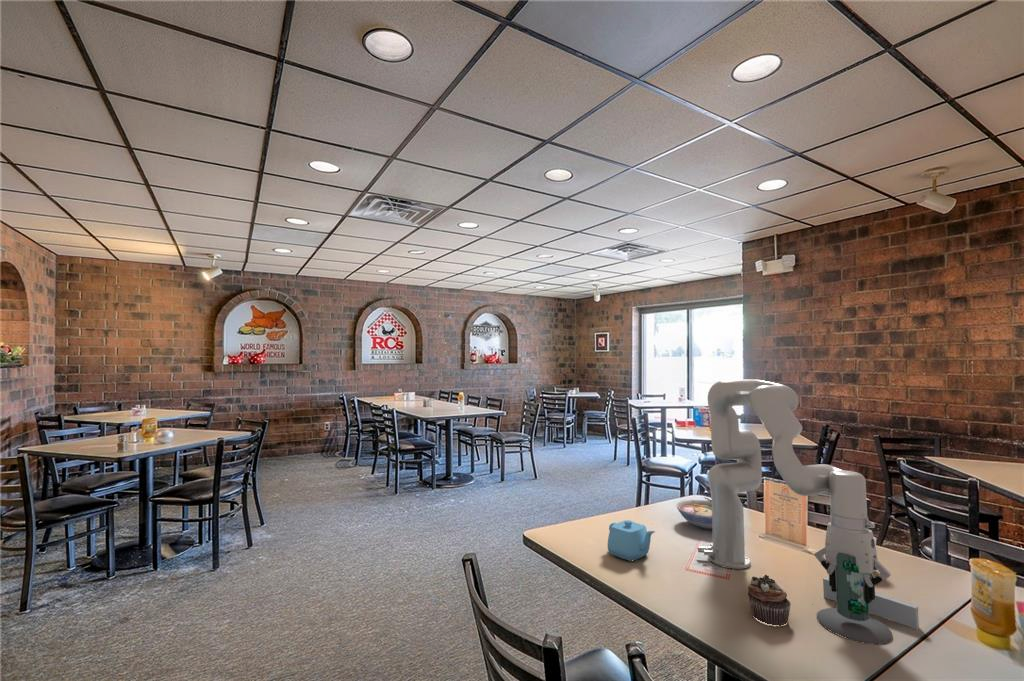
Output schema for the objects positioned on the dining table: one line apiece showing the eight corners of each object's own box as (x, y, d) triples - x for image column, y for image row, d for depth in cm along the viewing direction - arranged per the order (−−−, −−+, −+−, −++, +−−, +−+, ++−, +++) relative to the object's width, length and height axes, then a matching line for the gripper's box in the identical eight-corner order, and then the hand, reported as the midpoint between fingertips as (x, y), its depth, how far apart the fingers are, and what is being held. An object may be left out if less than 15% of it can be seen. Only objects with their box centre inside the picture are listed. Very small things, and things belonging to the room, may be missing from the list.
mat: (837, 641, 109) (836, 639, 109) (805, 608, 124) (805, 606, 124) (908, 646, 107) (908, 644, 107) (867, 612, 122) (867, 610, 122)
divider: (917, 629, 114) (916, 608, 114) (823, 597, 129) (823, 578, 130) (918, 627, 115) (917, 606, 115) (826, 595, 130) (825, 577, 131)
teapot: (645, 570, 147) (644, 533, 147) (599, 553, 160) (598, 519, 161) (666, 559, 155) (665, 524, 155) (620, 544, 168) (620, 511, 169)
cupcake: (773, 632, 112) (772, 590, 113) (739, 613, 121) (738, 573, 122) (800, 624, 116) (799, 582, 117) (765, 605, 125) (764, 567, 126)
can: (859, 623, 111) (857, 559, 112) (832, 611, 117) (830, 550, 117) (873, 617, 114) (870, 554, 115) (845, 605, 119) (843, 545, 120)
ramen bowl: (665, 517, 198) (665, 497, 198) (716, 515, 200) (716, 495, 201) (694, 539, 173) (694, 516, 173) (752, 536, 175) (752, 514, 176)
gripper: (896, 528, 112) (900, 605, 111) (815, 510, 126) (818, 578, 125) (887, 535, 107) (890, 615, 106) (804, 516, 121) (806, 586, 120)
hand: (851, 594), depth 116 cm, fingers closed on can, 6 cm apart
